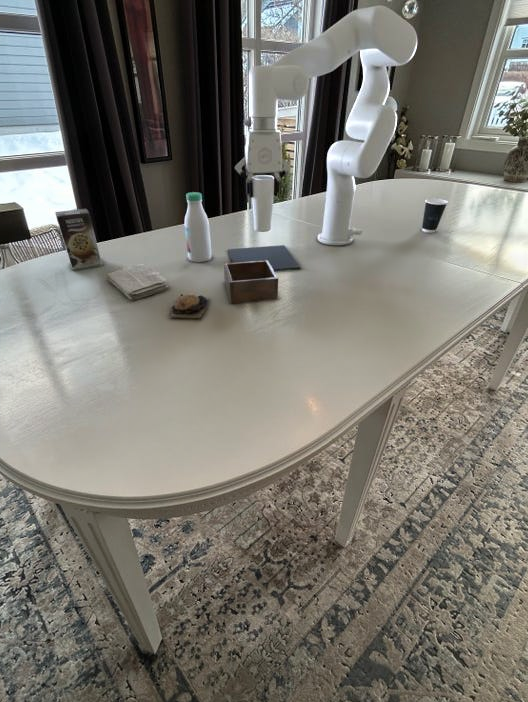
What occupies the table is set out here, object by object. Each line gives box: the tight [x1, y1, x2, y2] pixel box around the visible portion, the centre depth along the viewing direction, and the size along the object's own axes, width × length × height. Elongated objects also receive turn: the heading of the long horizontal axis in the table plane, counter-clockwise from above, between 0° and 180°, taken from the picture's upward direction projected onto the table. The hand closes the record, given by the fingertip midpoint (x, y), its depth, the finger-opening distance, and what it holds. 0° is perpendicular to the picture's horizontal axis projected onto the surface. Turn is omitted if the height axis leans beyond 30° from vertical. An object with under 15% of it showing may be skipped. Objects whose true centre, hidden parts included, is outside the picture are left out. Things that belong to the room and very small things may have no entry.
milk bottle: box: [184, 191, 212, 263], centre depth 115 cm, size 8×8×20 cm
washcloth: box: [106, 263, 169, 301], centre depth 104 cm, size 12×18×3 cm, turn 39°
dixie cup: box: [421, 198, 449, 234], centre depth 140 cm, size 8×8×11 cm
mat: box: [227, 244, 301, 272], centre depth 120 cm, size 20×20×1 cm
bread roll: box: [170, 293, 208, 320], centre depth 93 cm, size 11×8×4 cm
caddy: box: [223, 260, 279, 304], centre depth 100 cm, size 13×13×6 cm
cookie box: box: [54, 208, 103, 271], centre depth 113 cm, size 9×6×16 cm
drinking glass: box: [251, 174, 275, 233], centre depth 110 cm, size 7×7×15 cm
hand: (262, 195), depth 109 cm, fingers closed on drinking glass, 6 cm apart
